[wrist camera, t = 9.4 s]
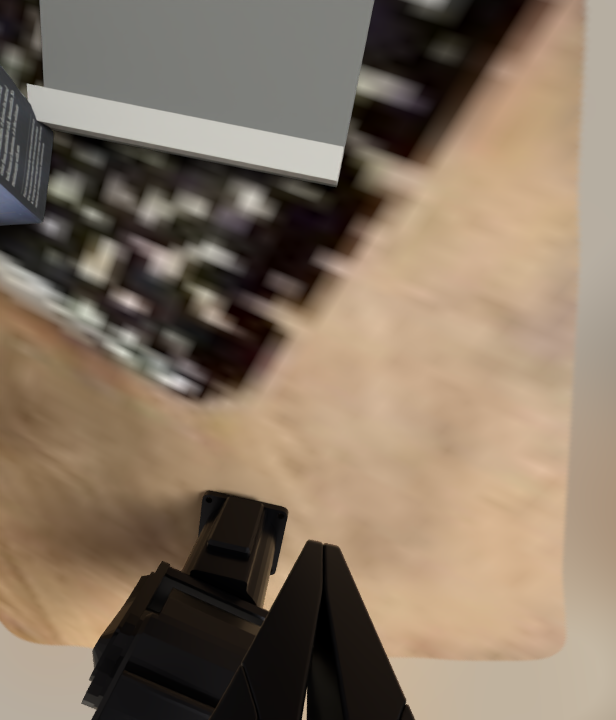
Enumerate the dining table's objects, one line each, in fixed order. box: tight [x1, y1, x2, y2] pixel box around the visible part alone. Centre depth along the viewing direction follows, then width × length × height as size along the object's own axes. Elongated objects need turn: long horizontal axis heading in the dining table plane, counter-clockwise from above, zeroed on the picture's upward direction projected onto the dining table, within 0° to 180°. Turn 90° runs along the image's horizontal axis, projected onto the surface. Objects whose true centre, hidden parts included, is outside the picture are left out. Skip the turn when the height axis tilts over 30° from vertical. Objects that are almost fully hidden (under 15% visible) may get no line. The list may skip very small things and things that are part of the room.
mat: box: [27, 0, 374, 187], centre depth 15 cm, size 11×16×2 cm
